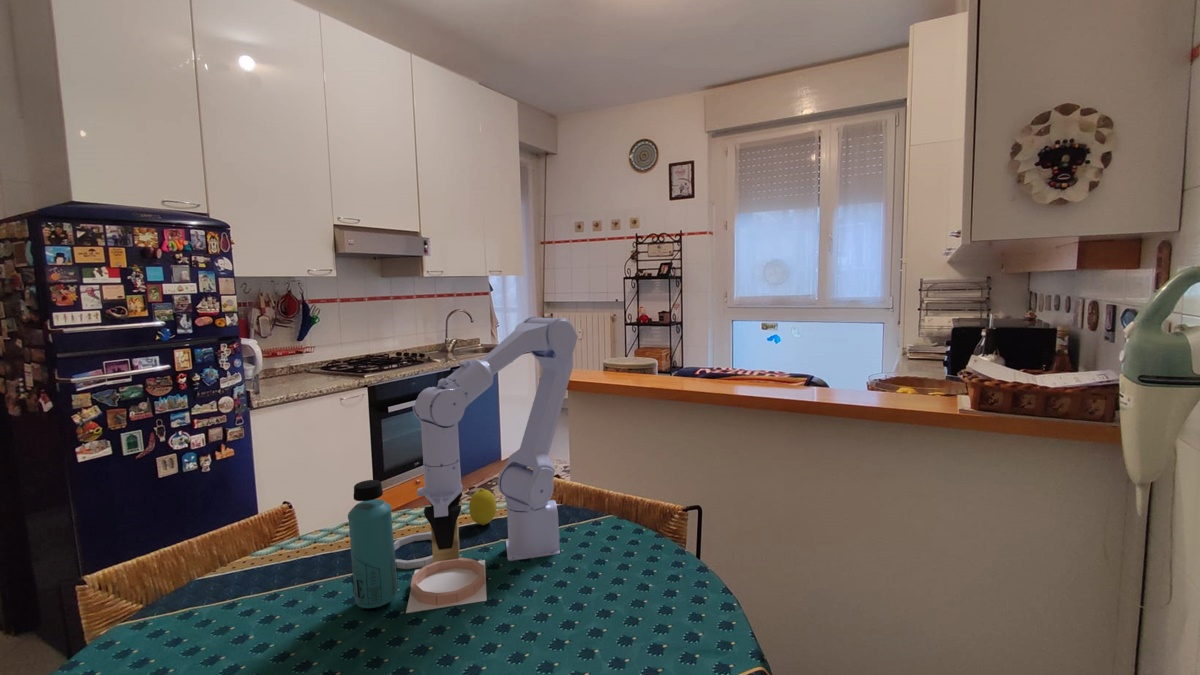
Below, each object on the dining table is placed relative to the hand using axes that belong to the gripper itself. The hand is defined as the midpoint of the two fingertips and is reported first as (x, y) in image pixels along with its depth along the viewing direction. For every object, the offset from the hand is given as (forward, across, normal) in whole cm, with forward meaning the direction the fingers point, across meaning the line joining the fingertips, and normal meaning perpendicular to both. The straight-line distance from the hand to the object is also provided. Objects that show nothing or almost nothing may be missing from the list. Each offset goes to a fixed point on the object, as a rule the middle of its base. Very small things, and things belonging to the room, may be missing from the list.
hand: (446, 541), depth 88 cm
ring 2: (+7, 0, 0) cm, 7 cm away
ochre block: (+2, 0, 0) cm, 2 cm away
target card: (+8, 0, 0) cm, 8 cm away
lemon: (+8, -22, +6) cm, 24 cm away
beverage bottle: (+8, +3, -11) cm, 14 cm away
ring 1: (+8, -13, -6) cm, 16 cm away
